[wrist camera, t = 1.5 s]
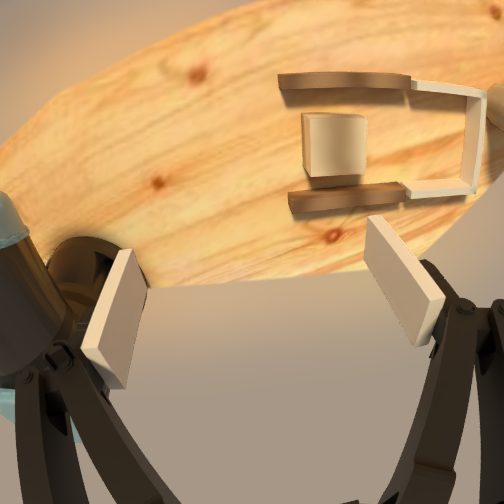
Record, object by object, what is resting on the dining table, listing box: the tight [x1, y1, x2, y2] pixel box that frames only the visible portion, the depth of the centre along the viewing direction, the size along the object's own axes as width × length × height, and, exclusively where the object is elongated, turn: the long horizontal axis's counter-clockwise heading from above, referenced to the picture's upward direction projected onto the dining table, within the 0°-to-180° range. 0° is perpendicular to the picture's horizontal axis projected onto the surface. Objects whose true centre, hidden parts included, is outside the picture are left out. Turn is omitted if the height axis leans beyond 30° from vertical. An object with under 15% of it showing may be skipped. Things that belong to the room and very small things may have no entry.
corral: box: [400, 79, 487, 199], centre depth 32 cm, size 11×14×3 cm
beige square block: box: [301, 112, 368, 177], centre depth 32 cm, size 6×6×4 cm
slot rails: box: [278, 72, 411, 214], centre depth 32 cm, size 14×15×2 cm
